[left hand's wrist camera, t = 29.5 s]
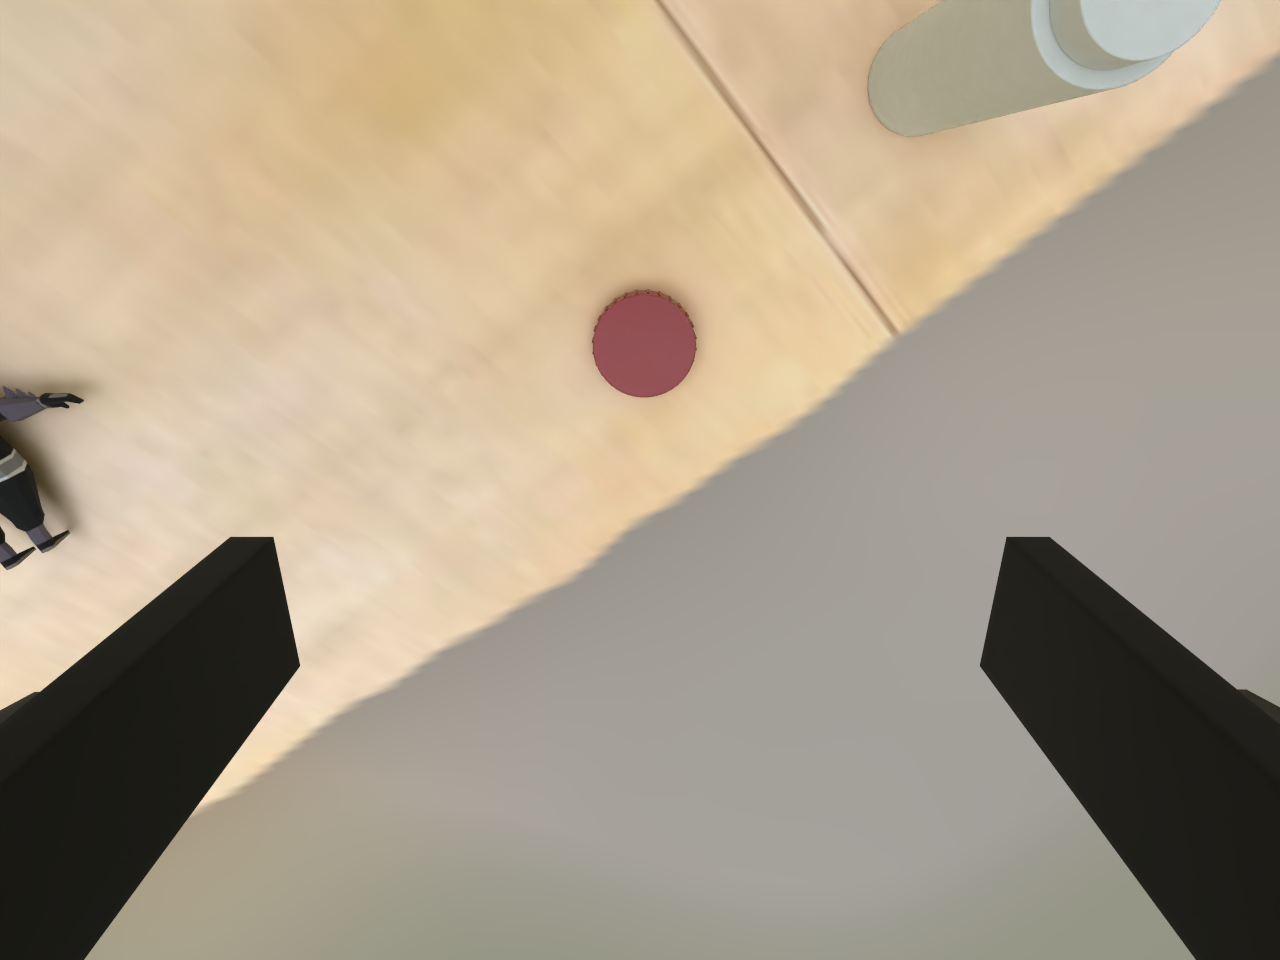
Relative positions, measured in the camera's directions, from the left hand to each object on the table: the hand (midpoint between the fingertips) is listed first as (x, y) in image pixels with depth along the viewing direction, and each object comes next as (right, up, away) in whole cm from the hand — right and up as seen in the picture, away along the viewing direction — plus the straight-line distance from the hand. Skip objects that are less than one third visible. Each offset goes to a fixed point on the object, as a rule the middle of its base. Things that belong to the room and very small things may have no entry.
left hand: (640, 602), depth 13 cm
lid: (0, +9, +24) cm, 26 cm away
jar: (+13, +21, +21) cm, 33 cm away
